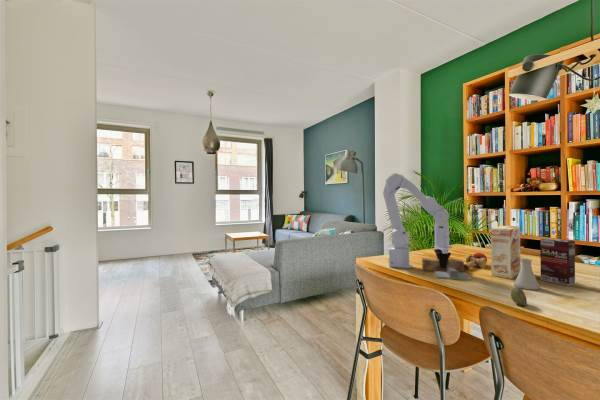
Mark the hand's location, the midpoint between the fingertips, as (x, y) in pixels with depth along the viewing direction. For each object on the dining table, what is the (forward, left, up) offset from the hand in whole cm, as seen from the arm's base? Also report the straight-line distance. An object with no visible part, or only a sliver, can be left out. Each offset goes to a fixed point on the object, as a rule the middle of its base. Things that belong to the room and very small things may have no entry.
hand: (442, 266), depth 122 cm
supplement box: (+37, -9, -2) cm, 38 cm away
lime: (+15, -37, -2) cm, 40 cm away
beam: (0, 0, -2) cm, 2 cm away
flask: (+24, -18, -2) cm, 30 cm away
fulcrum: (+2, -9, -2) cm, 9 cm away
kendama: (+15, +9, -2) cm, 17 cm away
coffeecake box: (+24, 0, -2) cm, 24 cm away
